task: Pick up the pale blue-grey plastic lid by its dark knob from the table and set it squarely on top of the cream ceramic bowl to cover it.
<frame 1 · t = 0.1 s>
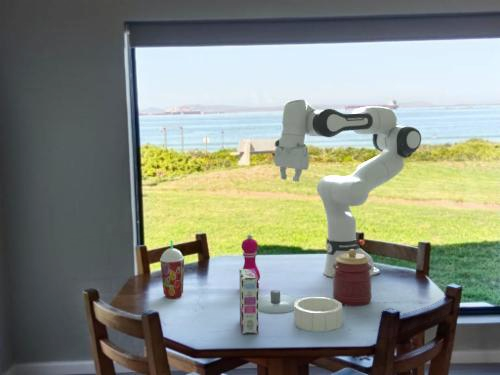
hand: (289, 180, 194), 39 cm above the table, tool pointing down, fingers open, 8 cm apart
lid: (275, 305, 174), on the table
smoothie: (173, 296, 184), on the table
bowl: (317, 322, 157), on the table
canister: (351, 300, 177), on the table
candy bar box: (249, 327, 154), on the table
pepper mill: (250, 288, 192), on the table
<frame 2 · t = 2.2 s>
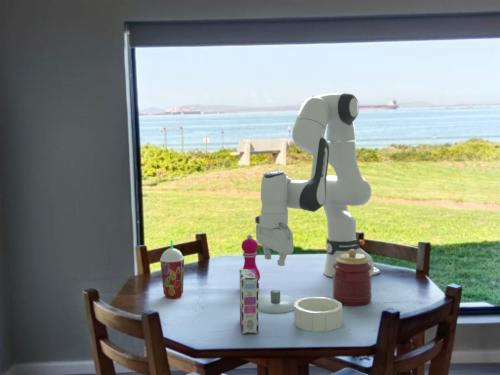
hand: (274, 262, 172), 14 cm above the table, tool pointing down, fingers open, 8 cm apart
nothing on the table moved.
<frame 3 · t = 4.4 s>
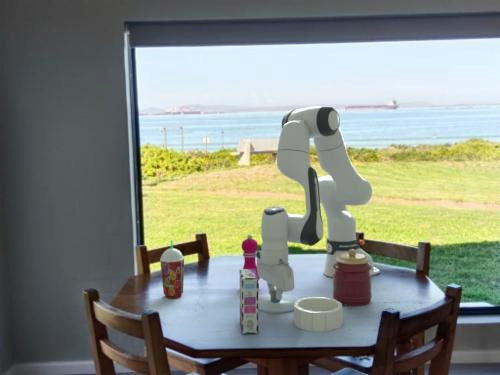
hand: (275, 297, 173), 2 cm above the table, tool pointing down, fingers closed on lid, 3 cm apart
lid: (275, 304, 174), on the table, touching gripper
everything else where it was.
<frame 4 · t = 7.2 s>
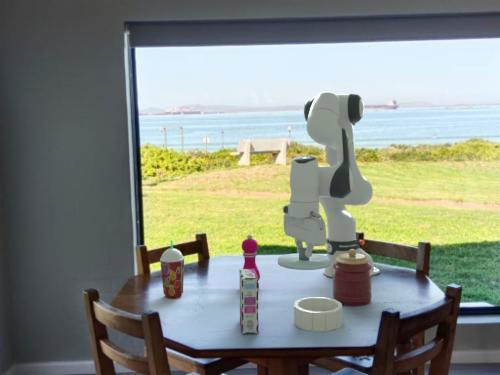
hand: (304, 255, 159), 20 cm above the table, tool pointing down, fingers closed on lid, 3 cm apart
lid: (304, 263, 159), point 17 cm above the table, touching gripper
everything else where it was.
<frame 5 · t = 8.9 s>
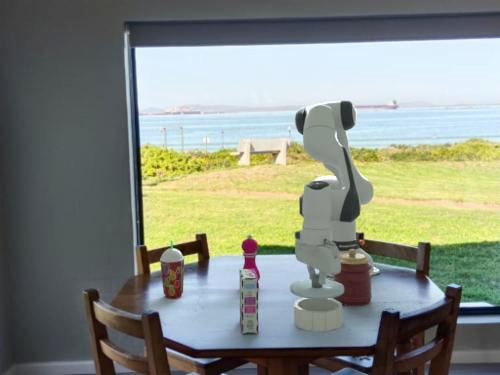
hand: (317, 282, 156), 12 cm above the table, tool pointing down, fingers closed on lid, 3 cm apart
lid: (317, 290, 156), point 10 cm above the table, touching gripper
everything else where it was.
when the fingers open (9 cm above the table, at t = 10.2 s): lid drops 1 cm, resting on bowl.
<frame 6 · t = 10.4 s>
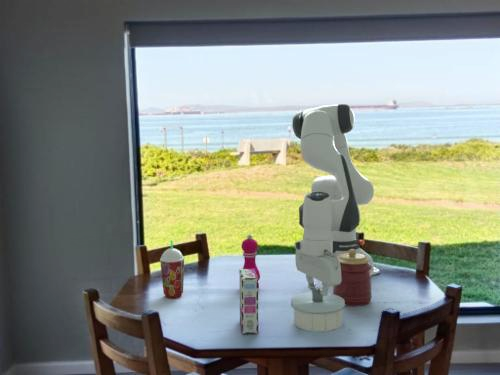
hand: (317, 292, 156), 9 cm above the table, tool pointing down, fingers open, 5 cm apart
lid: (317, 304, 156), point 5 cm above the table, touching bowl
everything else where it was.
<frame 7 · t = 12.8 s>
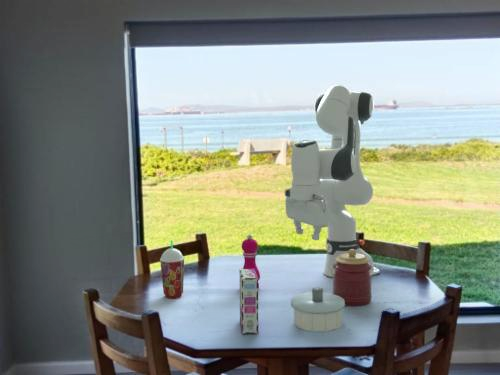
hand: (307, 236, 163), 24 cm above the table, tool pointing down, fingers open, 8 cm apart
nothing on the table moved.
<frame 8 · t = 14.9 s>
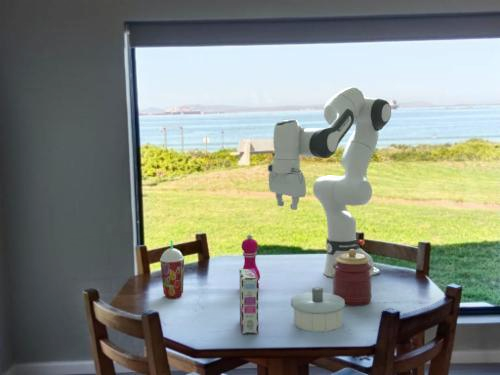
hand: (287, 207, 179), 31 cm above the table, tool pointing down, fingers open, 8 cm apart
nothing on the table moved.
at the end: lid 0.1 cm off-centre on the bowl, point 5.5 cm above the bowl's base; lid tilted 0°; the gripper is holding nothing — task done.
